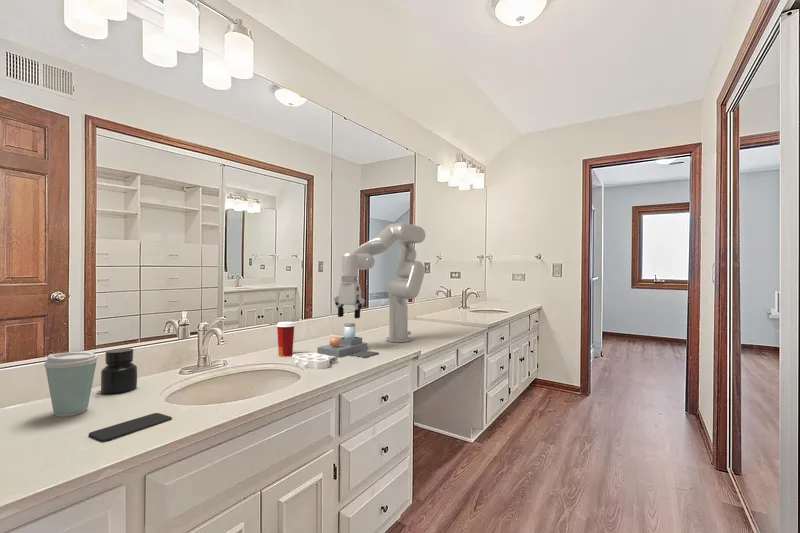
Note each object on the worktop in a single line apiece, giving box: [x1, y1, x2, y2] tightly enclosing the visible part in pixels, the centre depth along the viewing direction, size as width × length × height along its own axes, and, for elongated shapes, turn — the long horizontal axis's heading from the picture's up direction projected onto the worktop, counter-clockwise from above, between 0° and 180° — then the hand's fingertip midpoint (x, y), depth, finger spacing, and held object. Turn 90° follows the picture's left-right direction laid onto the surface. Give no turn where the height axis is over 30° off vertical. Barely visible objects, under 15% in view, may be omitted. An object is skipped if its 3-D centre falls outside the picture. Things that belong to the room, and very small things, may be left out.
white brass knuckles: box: [291, 352, 338, 370], centre depth 150 cm, size 3×18×15 cm
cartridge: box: [343, 322, 356, 340], centre depth 176 cm, size 5×5×9 cm
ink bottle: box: [100, 347, 138, 395], centre depth 117 cm, size 10×9×12 cm
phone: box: [88, 412, 173, 443], centre depth 89 cm, size 7×1×15 cm
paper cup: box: [276, 321, 296, 358], centre depth 165 cm, size 8×8×14 cm
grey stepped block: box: [317, 336, 368, 358], centre depth 173 cm, size 20×12×6 cm, turn 148°
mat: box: [349, 350, 380, 359], centre depth 166 cm, size 10×8×1 cm
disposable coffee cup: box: [43, 351, 99, 418], centre depth 98 cm, size 11×11×15 cm
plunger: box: [329, 336, 341, 348], centre depth 168 cm, size 4×4×7 cm
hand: (348, 317), depth 176 cm, fingers open, 9 cm apart
